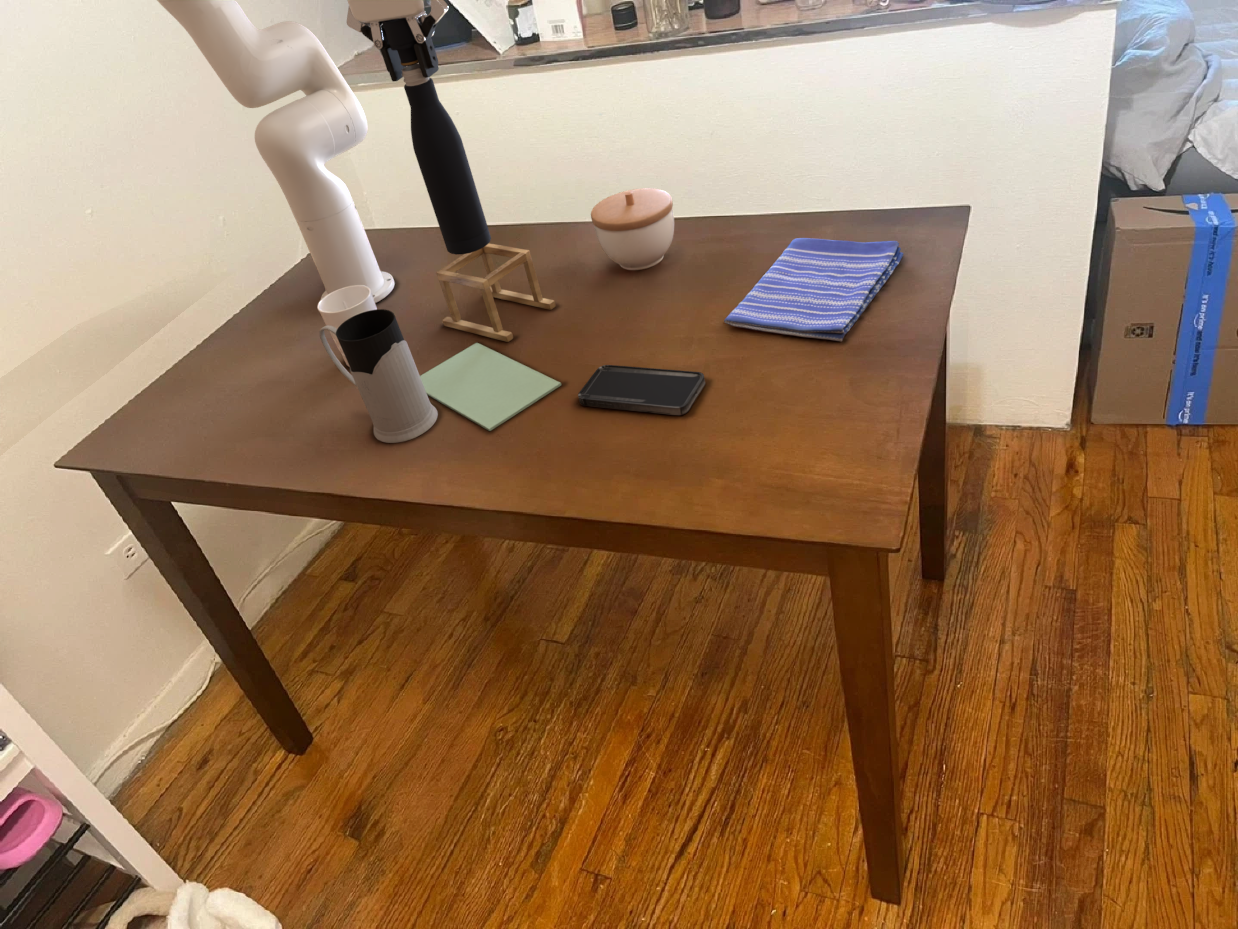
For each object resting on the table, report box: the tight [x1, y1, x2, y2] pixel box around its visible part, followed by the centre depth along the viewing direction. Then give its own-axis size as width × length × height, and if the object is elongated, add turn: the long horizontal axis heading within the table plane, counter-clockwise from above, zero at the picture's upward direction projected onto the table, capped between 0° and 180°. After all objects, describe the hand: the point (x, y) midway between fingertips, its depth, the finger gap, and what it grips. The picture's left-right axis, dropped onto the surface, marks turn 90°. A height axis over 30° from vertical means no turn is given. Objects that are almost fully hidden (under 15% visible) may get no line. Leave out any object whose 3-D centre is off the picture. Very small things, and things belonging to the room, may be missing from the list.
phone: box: [577, 364, 706, 416], centre depth 119 cm, size 8×1×15 cm
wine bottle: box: [382, 18, 492, 255], centre depth 124 cm, size 6×6×30 cm
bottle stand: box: [435, 242, 557, 343], centre depth 142 cm, size 14×11×9 cm
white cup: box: [316, 285, 378, 368], centre depth 139 cm, size 8×8×10 cm
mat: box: [420, 342, 562, 432], centre depth 129 cm, size 20×12×1 cm, turn 42°
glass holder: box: [318, 308, 439, 444], centre depth 123 cm, size 9×14×15 cm, turn 58°
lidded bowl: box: [590, 187, 675, 271], centre depth 147 cm, size 13×13×11 cm
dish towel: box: [723, 237, 905, 342], centre depth 130 cm, size 17×24×3 cm
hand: (415, 74), depth 119 cm, fingers closed on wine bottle, 3 cm apart
